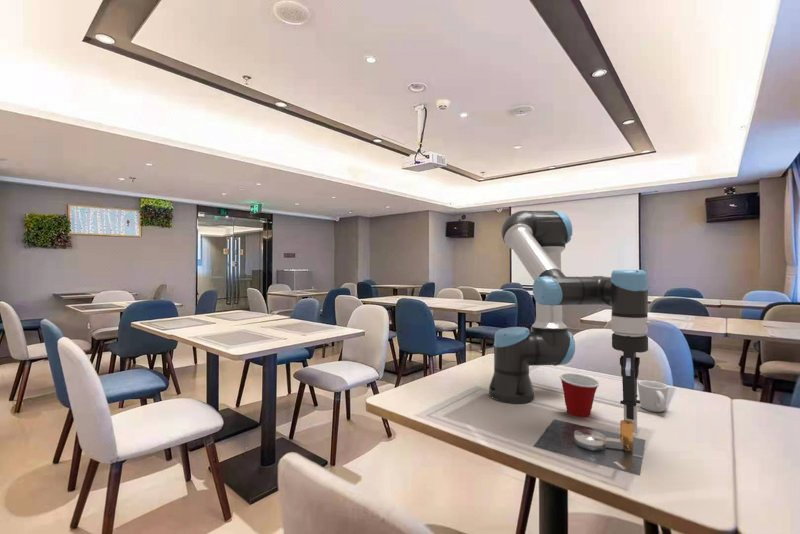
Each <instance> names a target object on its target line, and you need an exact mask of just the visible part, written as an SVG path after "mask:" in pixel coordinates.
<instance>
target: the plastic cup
mask: <svg viewBox="0 0 800 534" xmlns="http://www.w3.org/2000/svg"><path fill="white" fill-rule="evenodd" d="M559 378H560V380H561V384H562V385H561V386H562V391H563V395H564V396H563V397H564V404H565V408H566V413H567V414H569V415H570V416H573V417H576V418H577V417H578V418H588V417H591V413H592V409H593V406H594V400H595V399H594V398H595V394H596V391H597V389H598V387H599V386H600V384H601V382H600V381H599V380H597V379H596V378H595V377H591V376H588V375H584V374H582V373H581V374H579V373H572V372H571V373H570V372H569V373H568V372H566V373H561V374H560V375H559Z"/></svg>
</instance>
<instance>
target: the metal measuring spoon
mask: <svg viewBox="0 0 800 534" xmlns="http://www.w3.org/2000/svg"><path fill="white" fill-rule="evenodd" d="M619 431H620V433H619V434H620V439H615V438H607V437H605V436H604V435H603V434H601V433H599V432H597V431H593V430H588V429H578V430H576V431H574V442H575V443H576V444H577V445H578V446H580V447H582V448H585V449H589V450H603V449H605V448H606V447H609V448H617V449H623V450H627V451H632V450H633V437H634V432H633V423H632V422H631V421H627V420H624V419H622V420H620V430H619Z"/></svg>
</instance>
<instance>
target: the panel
mask: <svg viewBox="0 0 800 534" xmlns="http://www.w3.org/2000/svg"><path fill="white" fill-rule="evenodd" d="M578 429H588V430H593V431H597V432H599V433H601V434H603V435H604V436H605V437H607V438H615V439H620V433H617V432H613V431H612V432H611V431H607V430H603V429H599V428H594V427H590V426H586V425H581V424H577V423H572V422H567V421H565V420H559V419H553V420H552V421H551V422H550V424H549V425H548V426H547V428H546V429H545V430H544V432H543V433H542V434H541V436H539V438H538V440H537V441H536V442H535V443H534V445H533V447H534V448H537V449H541V450H544V451H548V452H552V453H555V454H559V455H563V456H567V457H570V458H574V459H576V460H577V459H578V460H581V461H585V462H589V463H592V464H596V465H599V466H603V467H607V468H610V469H613V470H616V471H621V472H624V473H627V474H633V475H634V476H641V472H642V465H643V458H644V454H645V453H644V452H645V446H646V439H644V438H639V437H634V436H633V450H632V451H627V450H623V449H617V448H609V447H606V448H605V449H603V450H589V449H585V448H582V447H580V446H578V445H577V444H576V443H575V442H574V431H576V430H578Z"/></svg>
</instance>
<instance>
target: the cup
mask: <svg viewBox="0 0 800 534" xmlns="http://www.w3.org/2000/svg"><path fill="white" fill-rule="evenodd" d="M637 391H638V398H639V399H638V400H640V404H639V405H640V407H641V408H642V409H644V410H645V411H649V412H654V413H660V412H663V411H665V410H666V407H667V399H668V391H669V386H668V385H667V384H666V383H662V382H659V381H657V380H656V381H655V380H645V379H644V380H638V381H637Z"/></svg>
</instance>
